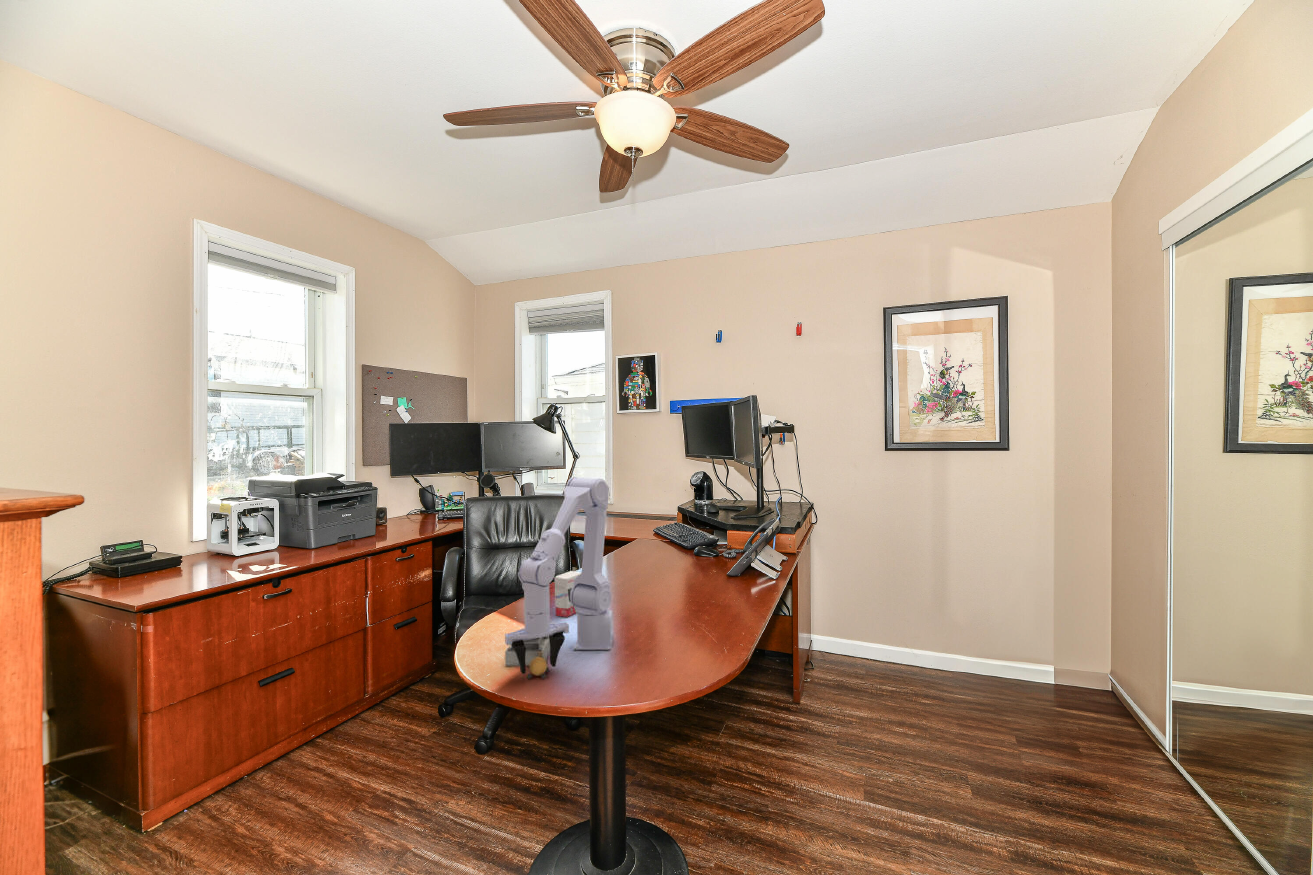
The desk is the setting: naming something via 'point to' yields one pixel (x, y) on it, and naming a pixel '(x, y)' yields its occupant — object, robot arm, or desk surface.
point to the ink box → (564, 593)
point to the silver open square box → (529, 651)
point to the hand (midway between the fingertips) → (538, 668)
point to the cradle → (541, 675)
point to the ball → (538, 666)
